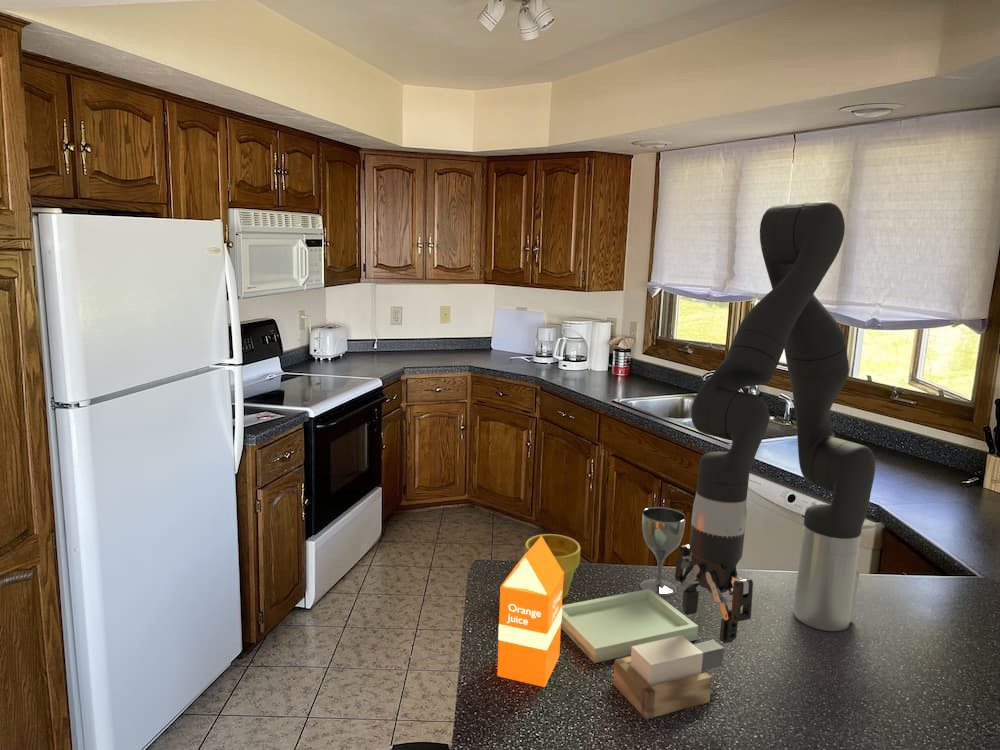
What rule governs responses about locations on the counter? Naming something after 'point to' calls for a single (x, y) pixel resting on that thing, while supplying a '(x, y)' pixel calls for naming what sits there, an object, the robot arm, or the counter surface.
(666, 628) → the tray
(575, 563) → the plant pot
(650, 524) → the wine glass
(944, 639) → the counter surface
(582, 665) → the counter surface
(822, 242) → the robot arm
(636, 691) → the dock
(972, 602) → the counter surface
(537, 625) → the orange juice
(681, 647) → the cream and grey blocks
